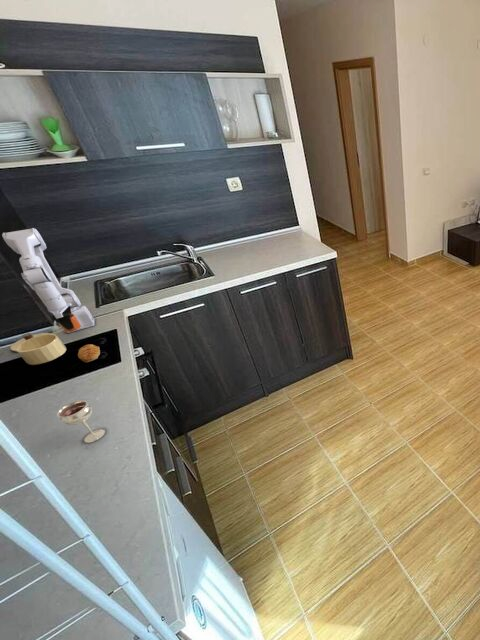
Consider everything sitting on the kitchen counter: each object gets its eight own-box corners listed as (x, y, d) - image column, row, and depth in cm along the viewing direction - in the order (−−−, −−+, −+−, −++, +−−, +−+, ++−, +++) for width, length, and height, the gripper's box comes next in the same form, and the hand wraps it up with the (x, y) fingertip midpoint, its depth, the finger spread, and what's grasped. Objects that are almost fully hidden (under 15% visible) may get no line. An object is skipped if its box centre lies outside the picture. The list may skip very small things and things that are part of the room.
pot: (66, 342, 148) (57, 330, 144) (66, 356, 140) (56, 343, 137) (27, 354, 141) (17, 341, 138) (24, 368, 134) (13, 355, 130)
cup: (81, 323, 149) (73, 312, 146) (81, 328, 145) (73, 317, 142) (64, 328, 146) (56, 317, 143) (64, 333, 142) (56, 322, 139)
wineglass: (93, 446, 103) (70, 419, 97) (74, 443, 104) (50, 416, 98) (114, 428, 109) (93, 401, 102) (96, 425, 110) (74, 398, 103)
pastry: (103, 358, 138) (98, 350, 136) (81, 366, 135) (75, 358, 132) (100, 348, 144) (95, 341, 142) (79, 355, 140) (73, 348, 138)
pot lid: (54, 331, 155) (48, 323, 153) (52, 344, 147) (46, 335, 144) (14, 342, 148) (7, 334, 146) (10, 356, 140) (2, 347, 138)
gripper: (64, 300, 135) (83, 329, 142) (65, 287, 144) (83, 315, 152) (39, 306, 131) (60, 335, 138) (41, 293, 140) (61, 321, 148)
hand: (70, 325), depth 145 cm, fingers closed on cup, 5 cm apart
